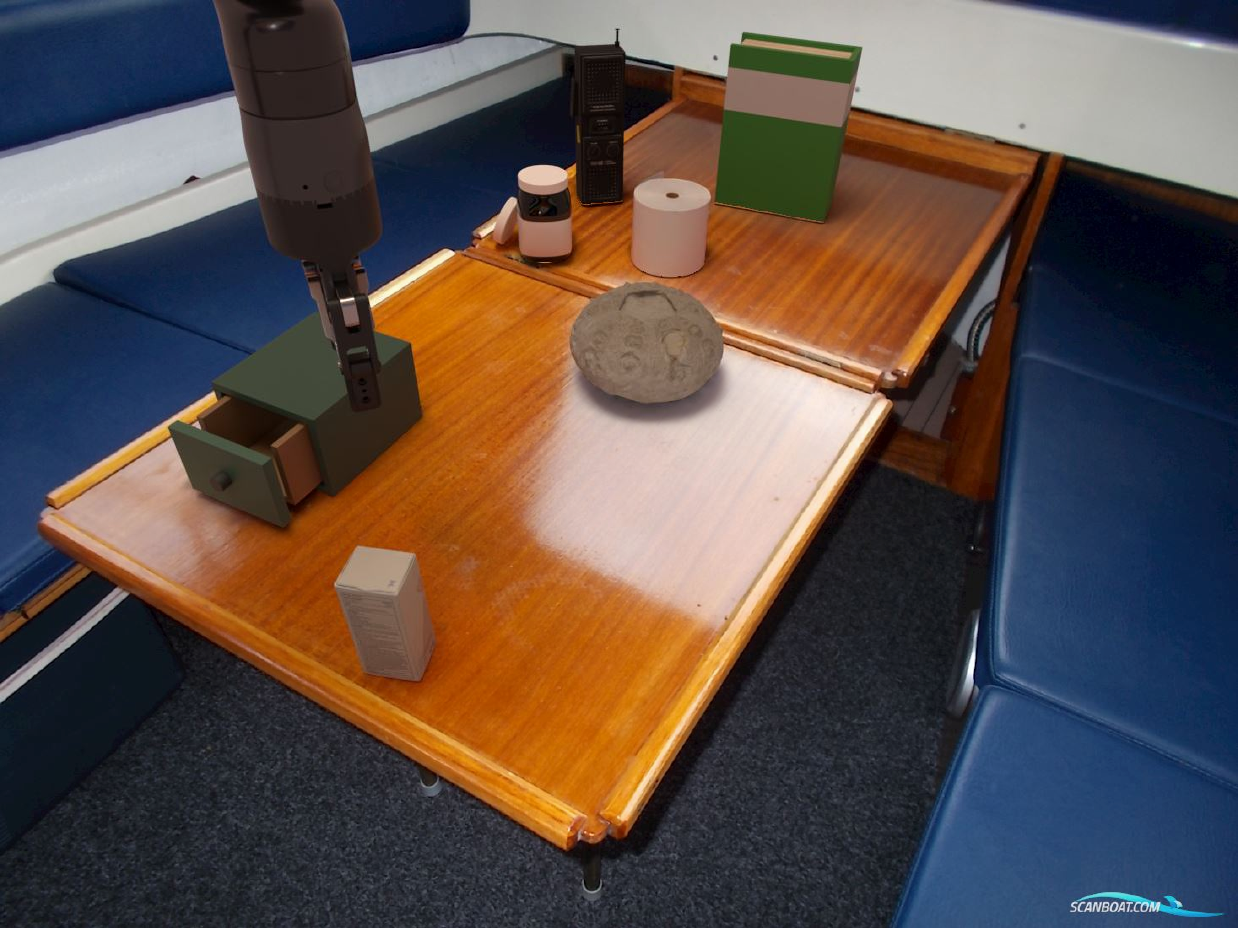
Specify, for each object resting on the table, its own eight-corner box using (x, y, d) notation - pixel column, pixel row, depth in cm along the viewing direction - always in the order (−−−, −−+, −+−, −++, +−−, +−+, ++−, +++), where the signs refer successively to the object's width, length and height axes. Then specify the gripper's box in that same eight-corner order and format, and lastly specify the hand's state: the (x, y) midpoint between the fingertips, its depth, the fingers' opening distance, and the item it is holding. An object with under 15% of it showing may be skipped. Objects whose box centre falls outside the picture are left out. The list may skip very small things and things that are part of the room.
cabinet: (334, 497, 86) (313, 420, 79) (237, 457, 90) (210, 381, 84) (423, 416, 96) (411, 342, 89) (332, 384, 100) (314, 311, 94)
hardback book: (714, 204, 139) (730, 45, 123) (726, 186, 144) (743, 31, 128) (822, 224, 134) (854, 61, 119) (831, 205, 140) (862, 47, 124)
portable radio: (576, 209, 136) (574, 39, 120) (568, 193, 141) (566, 27, 124) (624, 204, 138) (629, 36, 121) (615, 189, 142) (618, 25, 126)
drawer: (274, 536, 80) (252, 473, 75) (183, 496, 84) (156, 433, 79) (375, 446, 90) (361, 385, 85) (289, 414, 94) (272, 353, 89)
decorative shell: (750, 379, 103) (761, 306, 96) (646, 444, 93) (650, 368, 87) (643, 320, 112) (646, 250, 105) (539, 374, 103) (535, 300, 96)
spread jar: (575, 268, 122) (574, 189, 114) (495, 272, 121) (489, 192, 113) (567, 229, 131) (566, 154, 123) (492, 232, 130) (486, 156, 122)
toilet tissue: (666, 286, 119) (670, 218, 112) (609, 253, 125) (610, 187, 119) (719, 263, 124) (727, 196, 118) (663, 233, 131) (666, 168, 124)
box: (438, 641, 73) (420, 552, 66) (419, 684, 70) (399, 595, 62) (379, 632, 74) (355, 542, 66) (358, 673, 70) (331, 584, 63)
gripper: (242, 139, 60) (293, 338, 70) (264, 227, 50) (320, 442, 60) (352, 127, 62) (386, 321, 73) (394, 208, 52) (426, 419, 63)
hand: (356, 376), depth 67 cm, fingers open, 8 cm apart
